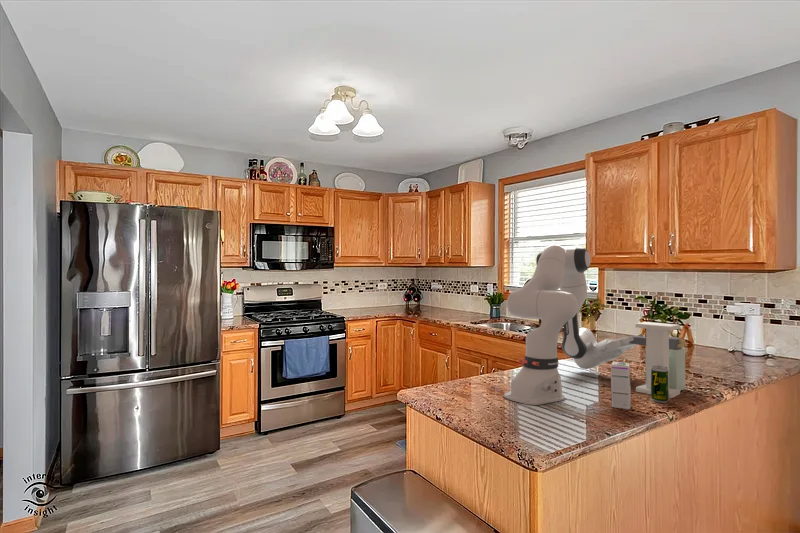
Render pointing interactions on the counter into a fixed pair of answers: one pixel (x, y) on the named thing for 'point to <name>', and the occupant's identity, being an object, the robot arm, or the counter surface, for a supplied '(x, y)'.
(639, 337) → the grey boxy piece
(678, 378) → the socket block
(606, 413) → the counter surface
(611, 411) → the counter surface
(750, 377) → the counter surface
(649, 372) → the tall shelf
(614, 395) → the syrup box
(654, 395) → the beer can
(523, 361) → the robot arm
